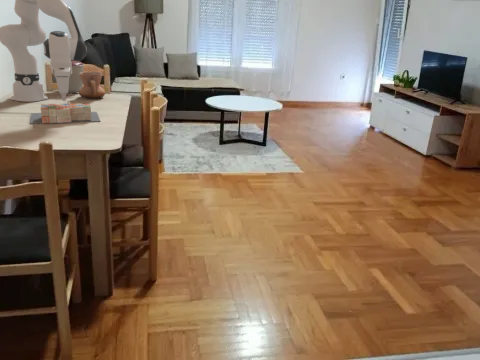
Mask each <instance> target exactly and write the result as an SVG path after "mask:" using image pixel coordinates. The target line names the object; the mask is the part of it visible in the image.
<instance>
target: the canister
mask: <svg viewBox="0 0 480 360" xmlns="http://www.w3.org/2000/svg"><path fill="white" fill-rule="evenodd" d="M71 63H72V74H71V75H70V77H69V89H68V94H77V93H78V94H79V90H80V89H81V88H83V87H84V84H83V82H82V80H81V78H80V74H79V73H81V72H84V66H85V63H83V62H81V61H76V60H71ZM55 80H56V79H55ZM56 82H57V80H56ZM56 85H57V84H56ZM57 87H58V85H57Z"/></svg>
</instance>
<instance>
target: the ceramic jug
mask: <svg viewBox="0 0 480 360" xmlns="http://www.w3.org/2000/svg"><path fill="white" fill-rule="evenodd" d="M79 74H80V78H81V80H82V82H83V86H82V88H81V89H80V90H79V92H78V95H79V96H80V97H81V98H84V99H89V100H96V99H100V98H103V97H104V96H105V94H106V90H105V89H104V88H103V87H101V86H100V84H101V82H102V77H103V73H102V72H101V71H90V70H89V71H83V72H81V73H79Z"/></svg>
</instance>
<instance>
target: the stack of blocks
mask: <svg viewBox="0 0 480 360" xmlns="http://www.w3.org/2000/svg"><path fill="white" fill-rule="evenodd" d="M91 112H92V107H91V105H90V103H40V113H41V116H42V123H50V124H65V123H64V122H71V121H75V120H78V121H81V120H91Z"/></svg>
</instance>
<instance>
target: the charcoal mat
mask: <svg viewBox="0 0 480 360" xmlns="http://www.w3.org/2000/svg"><path fill="white" fill-rule="evenodd" d="M100 122H101V119H100V117H99V115H98V112H97V111H91V120H81V121H78V120H75V121H71V122H64V123H63V124H73V123H76V124H77V123H100ZM29 124H30V125H40V124H41V125H45V124H51V123H42V116H41V112H31V113H30V120H29Z"/></svg>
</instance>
